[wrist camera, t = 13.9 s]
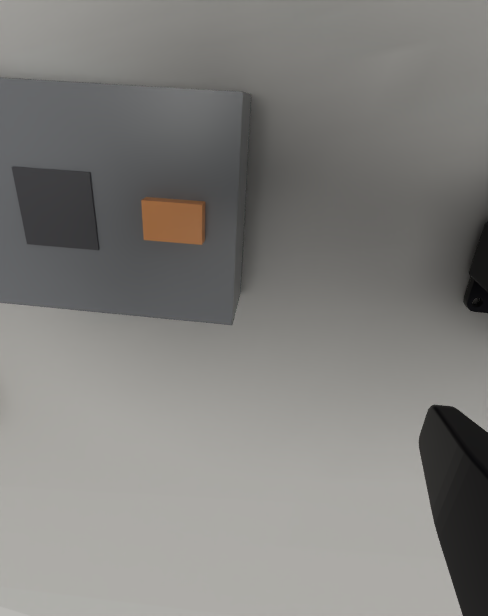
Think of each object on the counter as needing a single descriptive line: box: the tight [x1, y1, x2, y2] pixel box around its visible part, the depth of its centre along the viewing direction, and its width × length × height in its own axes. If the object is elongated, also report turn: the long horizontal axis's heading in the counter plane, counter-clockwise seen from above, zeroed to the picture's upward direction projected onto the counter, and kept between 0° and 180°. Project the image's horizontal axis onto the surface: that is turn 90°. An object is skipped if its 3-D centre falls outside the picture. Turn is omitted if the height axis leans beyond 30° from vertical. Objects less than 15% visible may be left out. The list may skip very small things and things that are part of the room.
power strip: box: [0, 78, 251, 325], centre depth 18 cm, size 20×9×4 cm, turn 87°
